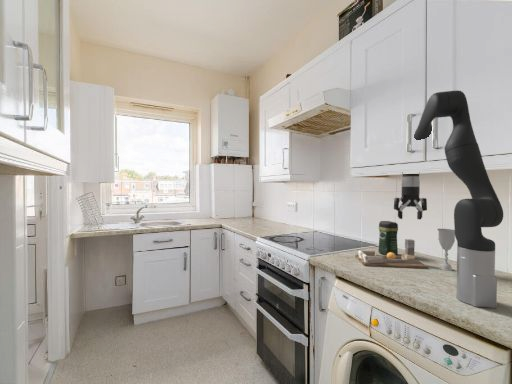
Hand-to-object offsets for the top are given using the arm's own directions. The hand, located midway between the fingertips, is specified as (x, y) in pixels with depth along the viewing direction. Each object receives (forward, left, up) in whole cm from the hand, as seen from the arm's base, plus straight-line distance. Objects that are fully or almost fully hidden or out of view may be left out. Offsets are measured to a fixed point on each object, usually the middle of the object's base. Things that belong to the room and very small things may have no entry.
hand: (409, 219), depth 122 cm
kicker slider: (0, 0, -20) cm, 20 cm away
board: (0, +9, -22) cm, 24 cm away
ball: (0, +8, -19) cm, 21 cm away
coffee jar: (+17, +3, -22) cm, 28 cm away
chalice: (-7, -13, -22) cm, 26 cm away
